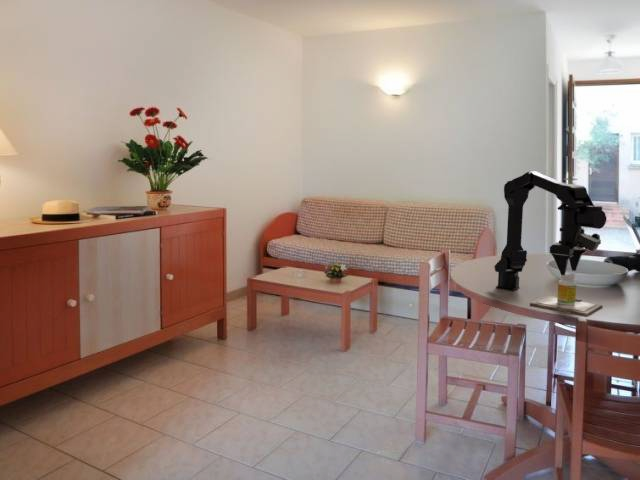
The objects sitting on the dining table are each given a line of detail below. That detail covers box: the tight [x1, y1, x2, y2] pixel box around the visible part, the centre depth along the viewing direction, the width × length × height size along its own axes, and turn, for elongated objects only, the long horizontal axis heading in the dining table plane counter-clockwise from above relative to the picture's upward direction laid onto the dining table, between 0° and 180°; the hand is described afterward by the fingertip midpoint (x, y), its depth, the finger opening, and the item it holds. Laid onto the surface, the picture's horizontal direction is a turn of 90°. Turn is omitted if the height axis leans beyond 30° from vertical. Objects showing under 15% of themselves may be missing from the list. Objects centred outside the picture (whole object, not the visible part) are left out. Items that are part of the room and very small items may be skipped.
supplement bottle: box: [556, 272, 577, 305], centre depth 182 cm, size 5×5×10 cm
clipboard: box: [529, 294, 603, 317], centre depth 183 cm, size 18×14×2 cm
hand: (568, 272), depth 181 cm, fingers open, 9 cm apart
